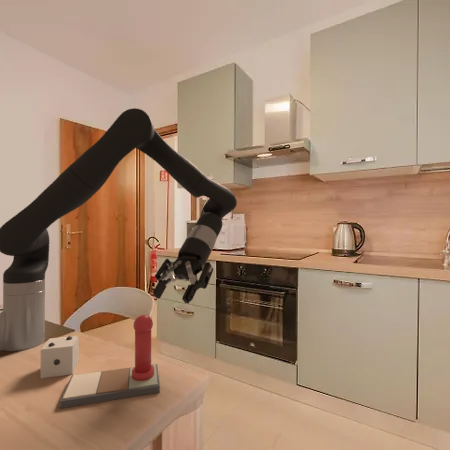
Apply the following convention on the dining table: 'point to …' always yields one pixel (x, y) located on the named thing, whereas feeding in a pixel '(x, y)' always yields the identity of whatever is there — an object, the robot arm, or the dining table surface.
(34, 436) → the dining table surface
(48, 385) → the dining table surface
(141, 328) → the pawn
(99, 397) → the board
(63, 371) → the die
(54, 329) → the dining table surface
